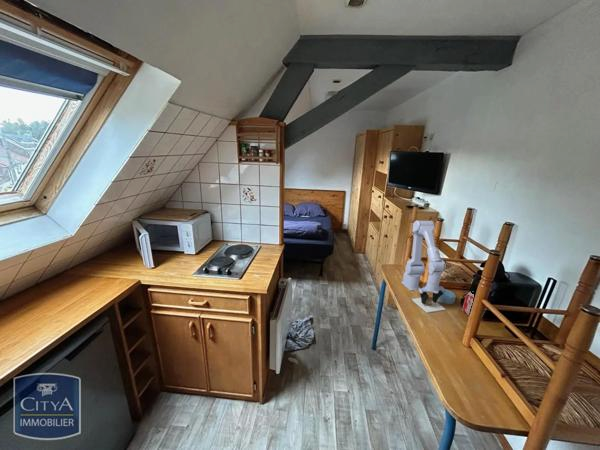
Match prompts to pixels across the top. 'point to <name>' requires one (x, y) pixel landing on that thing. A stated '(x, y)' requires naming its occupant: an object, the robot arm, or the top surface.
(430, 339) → the top surface
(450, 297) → the bowl
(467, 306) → the soda can
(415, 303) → the mat
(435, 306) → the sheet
